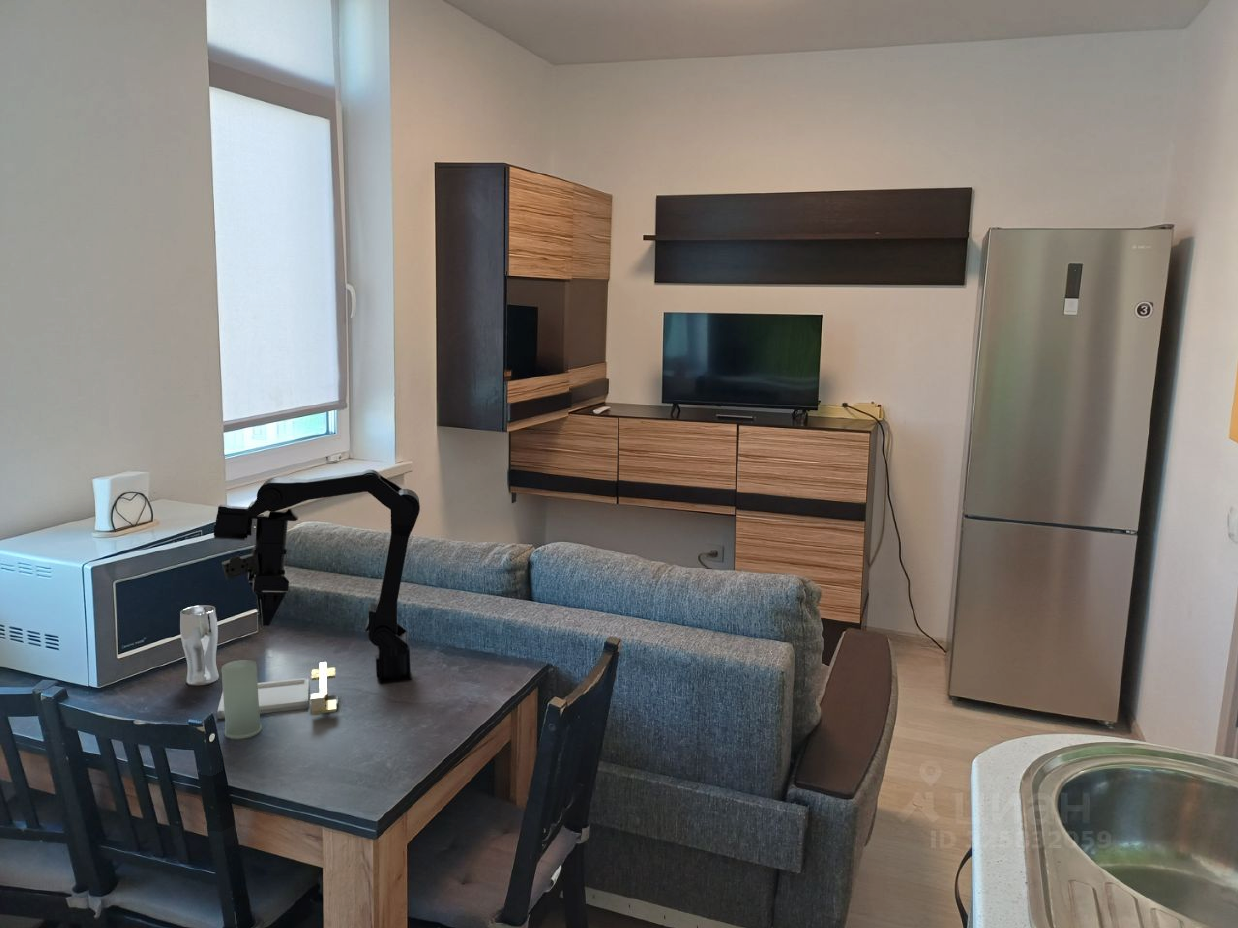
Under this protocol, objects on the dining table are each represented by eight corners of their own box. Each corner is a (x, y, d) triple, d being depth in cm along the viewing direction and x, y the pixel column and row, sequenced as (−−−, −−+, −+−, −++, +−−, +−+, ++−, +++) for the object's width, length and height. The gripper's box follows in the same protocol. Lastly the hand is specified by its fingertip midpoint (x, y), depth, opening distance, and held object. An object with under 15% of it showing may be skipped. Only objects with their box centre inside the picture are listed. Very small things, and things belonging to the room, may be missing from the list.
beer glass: (207, 687, 185) (201, 616, 182) (176, 684, 186) (171, 614, 184) (228, 674, 191) (223, 605, 189) (198, 672, 193) (193, 603, 190)
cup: (262, 721, 169) (258, 657, 167) (260, 736, 163) (256, 670, 161) (226, 726, 167) (222, 661, 165) (223, 741, 161) (218, 674, 159)
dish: (309, 684, 186) (308, 677, 186) (308, 708, 175) (307, 700, 175) (224, 693, 182) (224, 686, 181) (217, 718, 170) (217, 711, 170)
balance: (337, 689, 184) (336, 656, 183) (338, 720, 170) (336, 685, 169) (311, 692, 182) (309, 659, 181) (310, 724, 168) (308, 689, 167)
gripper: (224, 536, 185) (217, 613, 185) (228, 545, 168) (221, 630, 168) (282, 539, 190) (276, 614, 190) (292, 547, 173) (285, 629, 173)
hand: (264, 621), depth 180 cm, fingers open, 9 cm apart
